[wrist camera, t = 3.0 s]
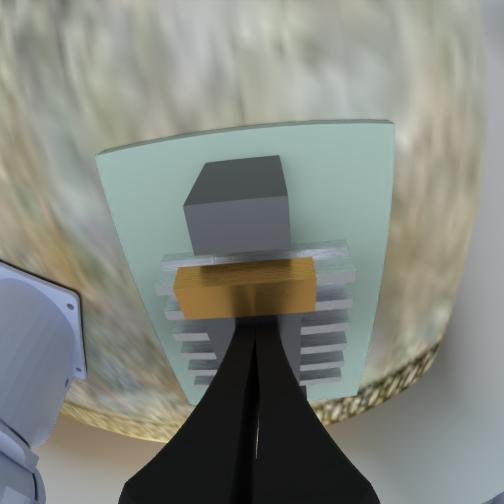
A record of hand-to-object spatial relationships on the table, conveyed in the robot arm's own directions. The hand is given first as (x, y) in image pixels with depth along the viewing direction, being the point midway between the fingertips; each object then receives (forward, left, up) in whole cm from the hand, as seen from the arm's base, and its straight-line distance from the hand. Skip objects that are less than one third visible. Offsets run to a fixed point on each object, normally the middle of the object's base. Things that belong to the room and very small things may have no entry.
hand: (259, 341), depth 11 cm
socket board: (-2, -1, -5) cm, 6 cm away
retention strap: (-3, -1, -1) cm, 3 cm away
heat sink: (-2, -1, -5) cm, 6 cm away
